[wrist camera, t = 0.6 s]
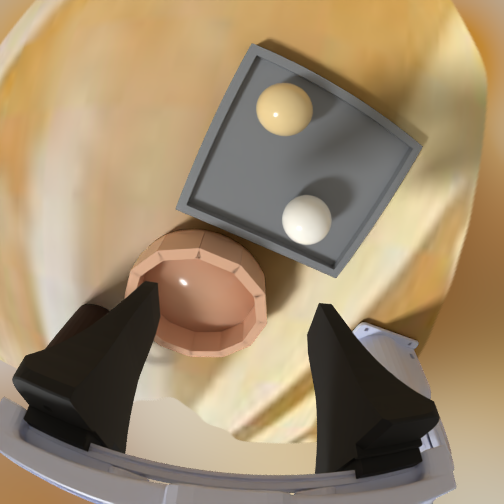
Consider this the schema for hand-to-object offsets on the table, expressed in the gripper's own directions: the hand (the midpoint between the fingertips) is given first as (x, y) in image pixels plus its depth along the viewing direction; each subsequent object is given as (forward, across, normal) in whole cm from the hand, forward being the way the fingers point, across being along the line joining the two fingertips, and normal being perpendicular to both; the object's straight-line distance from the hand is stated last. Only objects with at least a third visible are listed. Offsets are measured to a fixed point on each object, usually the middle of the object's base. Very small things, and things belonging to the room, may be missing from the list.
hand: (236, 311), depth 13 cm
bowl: (+10, +3, +7) cm, 12 cm away
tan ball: (+9, -1, -8) cm, 12 cm away
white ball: (+9, -4, -2) cm, 10 cm away
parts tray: (+10, -3, -5) cm, 11 cm away
